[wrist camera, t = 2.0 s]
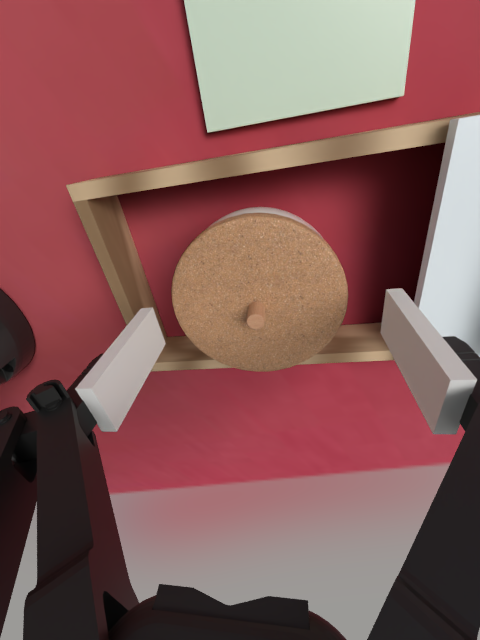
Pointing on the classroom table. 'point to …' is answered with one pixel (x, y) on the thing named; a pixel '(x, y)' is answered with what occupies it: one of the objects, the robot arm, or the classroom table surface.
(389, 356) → the wooden rectangular frame
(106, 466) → the classroom table surface
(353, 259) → the classroom table surface
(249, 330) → the lidded jar
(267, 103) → the mat
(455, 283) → the lid
